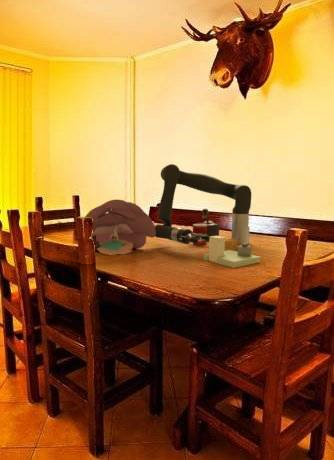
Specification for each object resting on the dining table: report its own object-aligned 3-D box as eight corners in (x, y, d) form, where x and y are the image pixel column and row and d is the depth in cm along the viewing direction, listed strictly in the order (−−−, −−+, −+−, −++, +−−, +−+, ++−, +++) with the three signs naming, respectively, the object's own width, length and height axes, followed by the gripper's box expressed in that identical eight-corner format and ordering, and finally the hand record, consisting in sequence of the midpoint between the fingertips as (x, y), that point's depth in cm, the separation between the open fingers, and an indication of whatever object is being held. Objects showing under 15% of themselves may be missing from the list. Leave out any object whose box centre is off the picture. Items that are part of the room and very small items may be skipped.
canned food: (205, 245, 197) (206, 225, 196) (191, 244, 199) (191, 225, 197) (207, 243, 205) (207, 224, 203) (193, 242, 206) (193, 223, 205)
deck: (229, 255, 172) (230, 239, 171) (259, 262, 158) (260, 245, 157) (203, 259, 162) (204, 243, 161) (233, 267, 148) (234, 249, 147)
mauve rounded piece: (91, 268, 165) (87, 210, 155) (75, 249, 184) (71, 196, 174) (156, 253, 182) (157, 200, 172) (136, 237, 201) (136, 189, 191)
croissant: (210, 259, 178) (213, 247, 173) (204, 247, 186) (207, 235, 181) (249, 257, 183) (253, 244, 178) (242, 244, 191) (245, 232, 186)
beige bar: (216, 259, 163) (216, 235, 162) (225, 261, 158) (226, 237, 157) (208, 260, 161) (209, 236, 159) (218, 263, 156) (219, 238, 154)
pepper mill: (220, 239, 217) (221, 210, 214) (205, 241, 211) (206, 210, 209) (205, 236, 230) (206, 208, 228) (191, 237, 225) (191, 208, 222)
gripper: (170, 229, 173) (192, 233, 160) (192, 227, 182) (215, 230, 169) (170, 244, 174) (192, 249, 162) (192, 241, 183) (215, 246, 170)
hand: (204, 240), depth 165 cm, fingers open, 8 cm apart
